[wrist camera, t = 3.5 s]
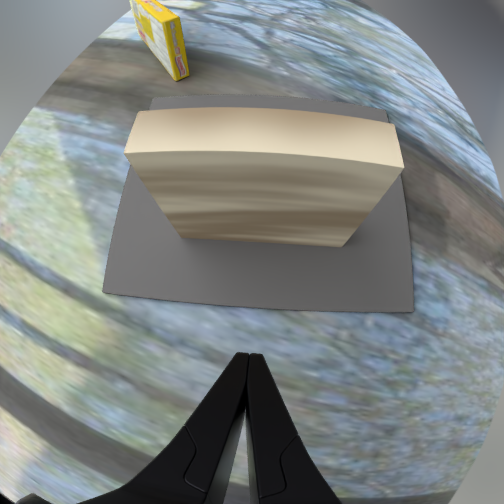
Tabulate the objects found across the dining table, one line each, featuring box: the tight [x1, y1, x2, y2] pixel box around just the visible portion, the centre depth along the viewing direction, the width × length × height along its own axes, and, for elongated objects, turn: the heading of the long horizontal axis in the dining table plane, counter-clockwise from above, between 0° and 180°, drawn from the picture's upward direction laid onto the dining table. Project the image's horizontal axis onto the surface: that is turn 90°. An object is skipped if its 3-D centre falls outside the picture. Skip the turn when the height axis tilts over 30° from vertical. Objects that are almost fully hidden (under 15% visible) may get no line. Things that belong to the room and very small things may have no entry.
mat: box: [102, 94, 414, 312], centre depth 23 cm, size 20×24×1 cm
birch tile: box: [124, 107, 404, 247], centre depth 17 cm, size 2×12×11 cm, turn 86°
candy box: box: [130, 0, 189, 81], centre depth 26 cm, size 16×2×8 cm, turn 31°
